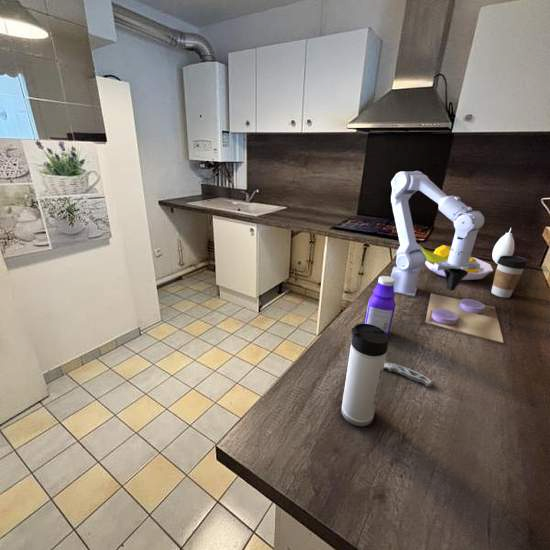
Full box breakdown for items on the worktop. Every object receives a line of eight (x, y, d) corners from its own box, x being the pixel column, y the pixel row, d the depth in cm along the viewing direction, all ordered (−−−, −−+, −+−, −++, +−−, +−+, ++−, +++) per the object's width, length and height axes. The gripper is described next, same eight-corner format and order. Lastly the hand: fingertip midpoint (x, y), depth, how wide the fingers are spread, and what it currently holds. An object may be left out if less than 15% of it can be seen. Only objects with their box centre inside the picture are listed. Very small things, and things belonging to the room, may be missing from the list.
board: (424, 323, 91) (425, 322, 90) (430, 294, 110) (430, 293, 110) (503, 344, 81) (503, 342, 81) (494, 308, 101) (494, 307, 100)
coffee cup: (518, 301, 106) (534, 262, 100) (493, 298, 107) (506, 260, 102) (506, 291, 114) (520, 255, 108) (483, 289, 115) (495, 253, 109)
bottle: (389, 329, 87) (400, 276, 80) (389, 340, 82) (401, 284, 75) (364, 324, 89) (372, 272, 82) (363, 335, 84) (372, 280, 77)
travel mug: (335, 402, 61) (347, 320, 54) (366, 400, 62) (381, 320, 54) (344, 428, 56) (358, 341, 48) (378, 426, 56) (397, 339, 48)
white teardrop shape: (509, 263, 142) (522, 227, 135) (507, 268, 137) (521, 230, 130) (490, 260, 147) (501, 224, 140) (487, 263, 142) (499, 227, 135)
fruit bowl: (483, 269, 135) (491, 246, 130) (492, 292, 112) (501, 265, 108) (417, 259, 146) (422, 237, 142) (413, 277, 124) (419, 252, 120)
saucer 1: (430, 320, 91) (432, 315, 90) (431, 310, 97) (433, 306, 96) (457, 327, 88) (458, 321, 87) (456, 316, 94) (458, 311, 93)
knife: (354, 361, 73) (358, 355, 76) (431, 388, 65) (432, 380, 68) (355, 356, 73) (358, 350, 75) (432, 383, 65) (433, 375, 67)
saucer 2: (459, 309, 98) (460, 304, 97) (458, 301, 104) (460, 296, 103) (484, 315, 95) (486, 310, 94) (482, 306, 101) (484, 301, 100)
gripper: (448, 255, 87) (437, 295, 92) (491, 253, 89) (478, 293, 94) (433, 247, 94) (424, 285, 99) (474, 247, 95) (463, 284, 101)
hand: (450, 289), depth 97 cm, fingers closed
